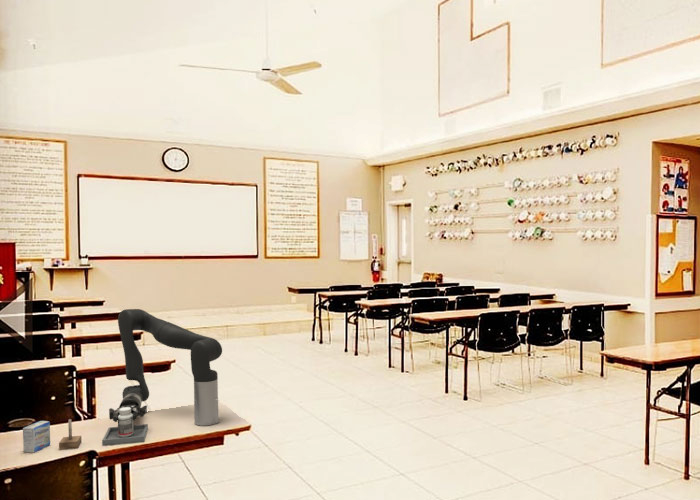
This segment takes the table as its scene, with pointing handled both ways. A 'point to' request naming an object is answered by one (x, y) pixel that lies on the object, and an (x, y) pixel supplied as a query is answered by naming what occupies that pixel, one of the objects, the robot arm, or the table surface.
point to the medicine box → (36, 436)
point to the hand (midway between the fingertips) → (124, 418)
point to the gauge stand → (70, 439)
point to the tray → (114, 439)
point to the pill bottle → (125, 422)
